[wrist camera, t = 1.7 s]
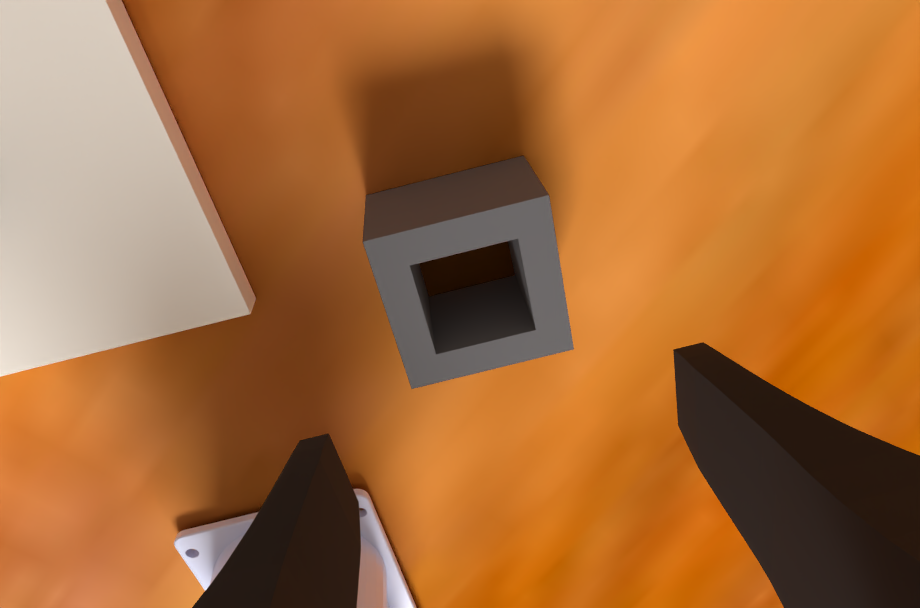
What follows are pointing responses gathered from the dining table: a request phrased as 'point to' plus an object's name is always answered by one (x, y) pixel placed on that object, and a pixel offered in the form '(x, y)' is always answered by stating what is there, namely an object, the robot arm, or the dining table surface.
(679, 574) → the dining table surface
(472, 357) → the square frame block
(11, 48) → the peg base
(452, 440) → the dining table surface
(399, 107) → the dining table surface
